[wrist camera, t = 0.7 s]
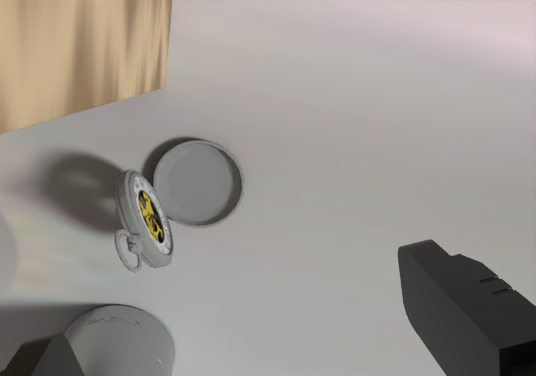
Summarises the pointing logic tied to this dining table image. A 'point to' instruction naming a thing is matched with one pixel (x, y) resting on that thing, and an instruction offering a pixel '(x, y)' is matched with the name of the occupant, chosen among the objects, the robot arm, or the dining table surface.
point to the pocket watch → (176, 198)
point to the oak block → (78, 55)
